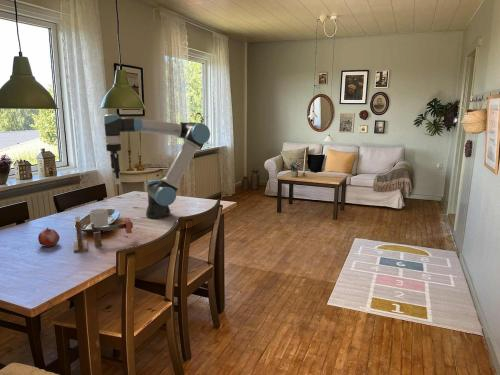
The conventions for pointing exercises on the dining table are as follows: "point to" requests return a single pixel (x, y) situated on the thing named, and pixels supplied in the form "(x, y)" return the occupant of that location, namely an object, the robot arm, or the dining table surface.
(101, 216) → the mug
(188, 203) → the dining table surface
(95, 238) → the saddle block
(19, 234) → the dining table surface
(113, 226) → the hook rod
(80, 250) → the wooden square frame
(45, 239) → the fruit
